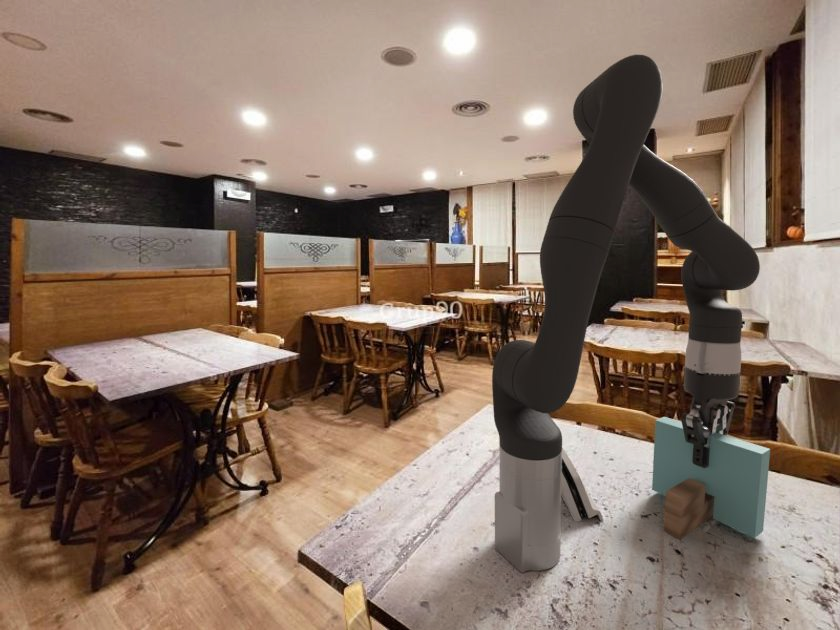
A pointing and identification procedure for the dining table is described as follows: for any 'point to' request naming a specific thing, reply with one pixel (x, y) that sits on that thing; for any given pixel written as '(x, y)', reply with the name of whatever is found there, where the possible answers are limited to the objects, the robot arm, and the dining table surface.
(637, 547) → the dining table surface
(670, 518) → the notched wooden block
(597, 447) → the dining table surface
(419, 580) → the dining table surface
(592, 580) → the dining table surface
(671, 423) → the teal plate
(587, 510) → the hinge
